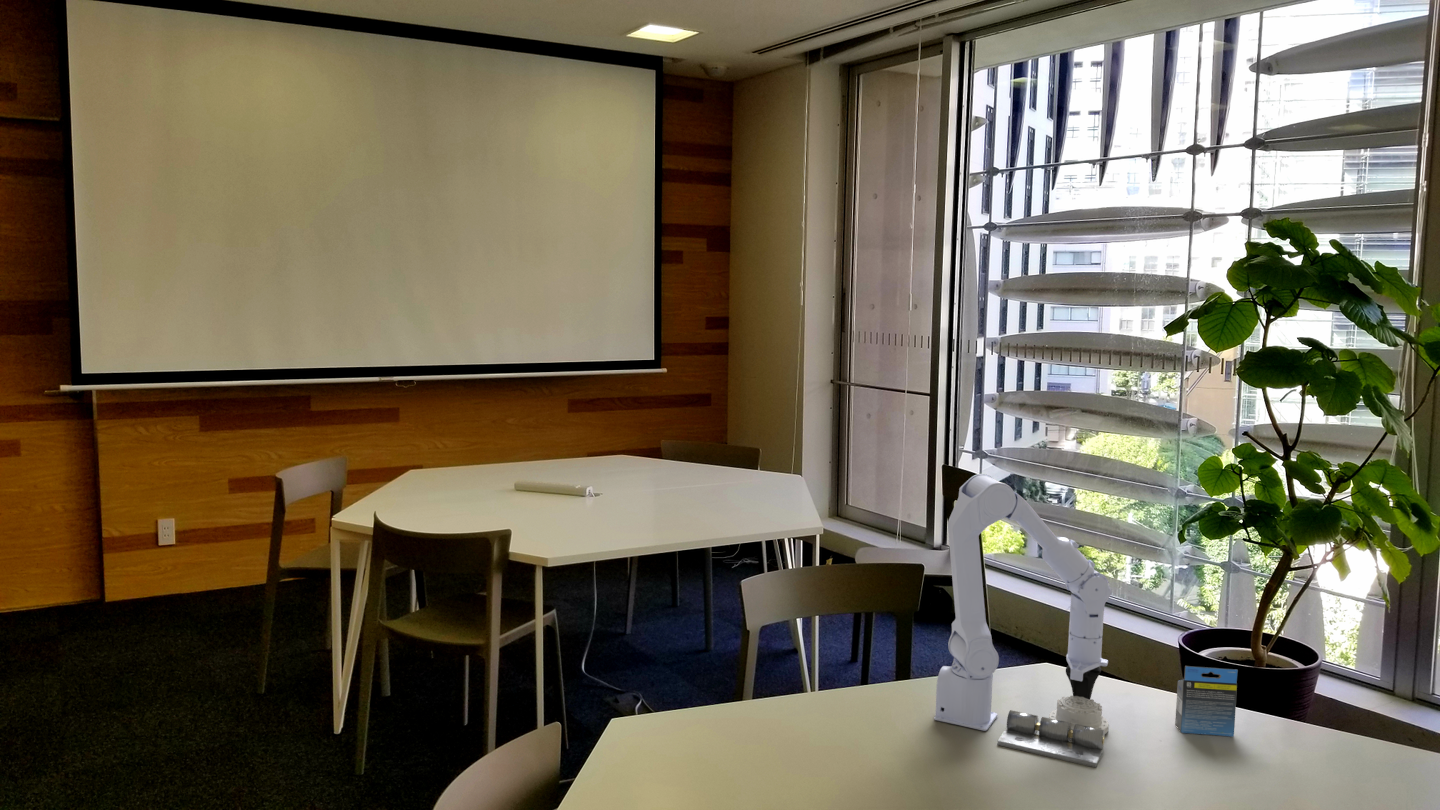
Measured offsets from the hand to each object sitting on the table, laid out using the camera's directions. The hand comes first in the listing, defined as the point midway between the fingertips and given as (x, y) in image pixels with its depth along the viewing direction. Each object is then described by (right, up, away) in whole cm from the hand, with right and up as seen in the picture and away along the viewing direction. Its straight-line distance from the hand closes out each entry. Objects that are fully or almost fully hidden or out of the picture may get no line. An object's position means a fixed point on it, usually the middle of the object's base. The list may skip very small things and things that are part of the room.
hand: (1081, 706), depth 187 cm
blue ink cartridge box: (+20, -3, -5) cm, 21 cm away
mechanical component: (-2, -3, -4) cm, 6 cm away
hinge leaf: (-9, -3, -12) cm, 16 cm away
